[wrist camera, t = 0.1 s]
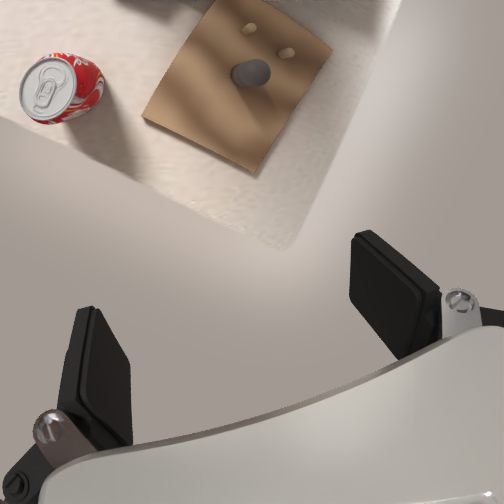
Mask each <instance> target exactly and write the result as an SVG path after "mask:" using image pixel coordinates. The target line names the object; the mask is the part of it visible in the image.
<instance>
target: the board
mask: <svg viewBox="0 0 504 504" xmlns="http://www.w3.org/2000/svg"><path fill="white" fill-rule="evenodd" d="M332 51H333V50H332V49H331V48H330V47H329V46H327V45H326V44H325V43H323V42H322V41H321V40H320V39H318V38H317V37H316V36H314V35H313V34H312V33H310V32H309V31H308V30H306V29H305V28H303V27H302V26H301V25H299V24H298V23H296V22H295V21H294V20H292V19H291V18H289V17H288V16H286V15H285V14H283V13H282V12H280V11H279V10H277V9H276V8H274V7H273V6H271V5H270V4H268V3H266V2H265V1H263V0H215V2H214V3H213V4H212V5H211V7H210V8H209V9H208V11H207V12H206V13H205V15H204V16H203V18H202V19H201V20H200V22H199V23H198V25H197V26H196V27H195V29H194V30H193V32H192V33H191V35H190V36H189V38H188V39H187V40H186V42H185V43H184V45H183V46H182V48H181V50H180V51H179V53H178V54H177V56H176V57H175V59H174V60H173V62H172V64H171V65H170V67H169V68H168V70H167V72H166V73H165V75H164V77H163V78H162V80H161V82H160V83H159V85H158V87H157V89H156V90H155V92H154V94H153V96H152V97H151V99H150V101H149V103H148V104H147V106H146V108H145V110H144V112H143V114H142V117H144V118H146V119H149V120H151V121H153V122H155V123H157V124H159V125H161V126H163V127H165V128H168V129H170V130H172V131H174V132H176V133H178V134H180V135H182V136H184V137H186V138H188V139H190V140H192V141H194V142H196V143H198V144H200V145H202V146H204V147H206V148H208V149H210V150H212V151H214V152H216V153H217V154H219V155H221V156H223V157H225V158H227V159H229V160H231V161H233V162H235V163H236V164H238V165H240V166H242V167H244V168H246V169H248V170H249V171H251V172H253V173H255V171H256V170H257V168H258V166H259V165H260V163H261V161H262V160H263V158H264V156H265V155H266V153H267V152H268V150H269V148H270V147H271V145H272V144H273V142H274V140H275V139H276V137H277V136H278V134H279V132H280V131H281V129H282V128H283V126H284V124H285V123H286V121H287V120H288V118H289V117H290V115H291V113H292V112H293V110H294V109H295V107H296V106H297V104H298V103H299V101H300V99H301V98H302V96H303V95H304V93H305V92H306V90H307V89H308V87H309V86H310V84H311V83H312V81H313V79H314V78H315V76H316V75H317V73H318V72H319V70H320V69H321V67H322V66H323V64H324V63H325V61H326V60H327V58H328V57H329V55H330V54H331V52H332Z"/></svg>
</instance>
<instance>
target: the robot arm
mask: <svg viewBox="0 0 504 504" xmlns="http://www.w3.org/2000/svg"><path fill="white" fill-rule="evenodd" d="M439 289H440V287H439V286H438V285H437V284H436V283H434V282H433V281H432V280H431V279H430V278H428V277H427V276H426V275H425V274H424V273H423V272H422V271H420V270H419V269H418V268H417V267H416V266H415V265H413V264H412V263H411V262H410V261H408V260H407V259H406V258H405V257H404V256H403V255H401V254H400V253H399V252H398V251H397V250H395V249H394V248H393V247H392V246H390V245H389V244H388V243H387V242H385V241H384V240H383V239H382V238H380V237H379V236H378V235H377V234H375V233H374V232H372V231H371V230H366V231H362V232H359V233H356V234H355V236H354V238H353V239H352V240H351V266H350V289H349V297H350V300H351V302H352V304H353V305H354V306H355V307H356V309H357V310H358V311H359V312H360V314H361V315H362V316H363V317H364V318H365V320H366V321H367V322H368V323H369V325H370V326H371V327H372V328H373V330H374V331H375V332H376V333H377V334H378V336H379V337H380V338H381V340H382V341H383V342H384V343H385V344H386V346H387V347H388V348H389V350H390V351H391V352H392V353H393V355H394V356H395V357H396V358H397V359H398V361H396V362H394V363H393V364H390V365H388V366H386V367H384V368H382V369H379V370H377V371H375V372H373V373H371V374H368V375H366V376H364V377H362V378H359V379H357V380H355V381H352V382H350V383H348V384H345V385H343V386H341V387H338V388H335V389H333V390H330V391H328V392H326V393H323V394H320V395H318V396H315V397H313V398H310V399H307V400H304V401H301V402H299V403H296V404H293V405H290V406H287V407H284V408H281V409H278V410H275V411H272V412H269V413H266V414H262V415H259V416H256V417H253V418H250V419H246V420H242V421H239V422H235V423H232V424H228V425H224V426H221V427H217V428H213V429H210V430H205V431H201V432H197V433H192V434H188V435H183V436H178V437H173V438H168V439H164V440H159V441H154V442H148V443H143V444H137V445H133V431H132V412H131V381H130V380H131V379H130V378H131V375H130V363H129V361H128V358H127V356H126V355H125V353H124V351H123V350H122V348H121V347H120V345H119V343H118V341H117V339H116V338H115V336H114V334H113V333H112V331H111V329H110V327H109V325H108V323H107V322H106V320H105V318H104V316H103V314H102V312H101V311H100V309H95V308H94V307H93V306H89V307H85V308H81V309H78V310H77V313H76V317H75V321H74V325H73V330H72V334H71V339H70V344H69V348H68V350H67V352H66V356H65V361H64V366H63V372H62V378H61V384H60V390H59V396H58V404H57V409H51V410H48V411H45V412H44V413H42V414H41V415H40V416H39V418H37V420H36V422H35V424H34V427H33V438H34V440H35V442H36V443H35V444H34V445H33V446H32V447H31V448H30V449H29V451H27V452H26V454H25V455H24V456H23V457H22V458H21V459H20V460H19V461H18V462H17V463H16V464H15V465H14V466H13V467H12V468H11V469H10V471H9V472H8V473H7V474H6V476H5V477H4V480H3V487H2V488H3V494H4V496H5V499H4V501H3V500H1V499H0V504H504V311H501V310H495V309H490V308H484V307H479V303H478V300H477V298H476V297H475V296H474V295H473V294H472V293H471V292H469V291H467V290H464V289H461V288H451V289H448V290H446V291H445V292H444V293H443V294H442V293H441V292H440V291H439Z"/></svg>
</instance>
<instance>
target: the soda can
mask: <svg viewBox="0 0 504 504" xmlns="http://www.w3.org/2000/svg"><path fill="white" fill-rule="evenodd" d="M103 89H104V79H103V75H102V73H101V71H100V70H99V68H98V67H97V66H96V65H95V64H94V63H92V62H91V61H89V60H87V59H84V58H82V57H79V56H76V55H73V54H69V53H53V54H49V55H47V56H45V57H43V58H41V59H40V60H38V61H37V62H36V63H35V64H33V65H32V66H31V67H30V68H29V69H28V71H27V72H26V73H25V75H24V77H23V79H22V81H21V84H20V89H19V100H20V104H21V106H22V108H23V110H24V112H25V113H26V114H27V115H28V116H29V117H30V118H32V119H33V120H34V121H36V122H38V123H42V124H47V125H50V124H57V123H61V122H65V121H68V120H70V119H73V118H76V117H78V116H81V115H83V114H85V113H87V112H88V111H89V110H91V109H92V108H93V107H94V106H95V105H96V104H97V103H98V101H99V100H100V98H101V96H102V93H103Z"/></svg>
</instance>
